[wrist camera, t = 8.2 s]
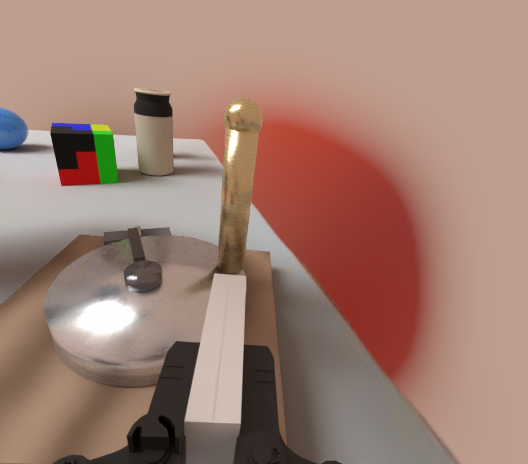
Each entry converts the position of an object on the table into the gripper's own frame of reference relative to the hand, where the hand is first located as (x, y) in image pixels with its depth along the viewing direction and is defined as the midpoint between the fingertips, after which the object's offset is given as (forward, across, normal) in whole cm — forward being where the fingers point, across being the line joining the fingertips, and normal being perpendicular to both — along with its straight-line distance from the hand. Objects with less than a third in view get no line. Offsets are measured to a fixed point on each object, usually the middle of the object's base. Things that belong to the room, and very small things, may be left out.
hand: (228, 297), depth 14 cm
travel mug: (+59, -21, -14) cm, 64 cm away
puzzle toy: (+51, -33, -14) cm, 62 cm away
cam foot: (+10, -7, -10) cm, 16 cm away
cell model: (+64, -60, -14) cm, 89 cm away
